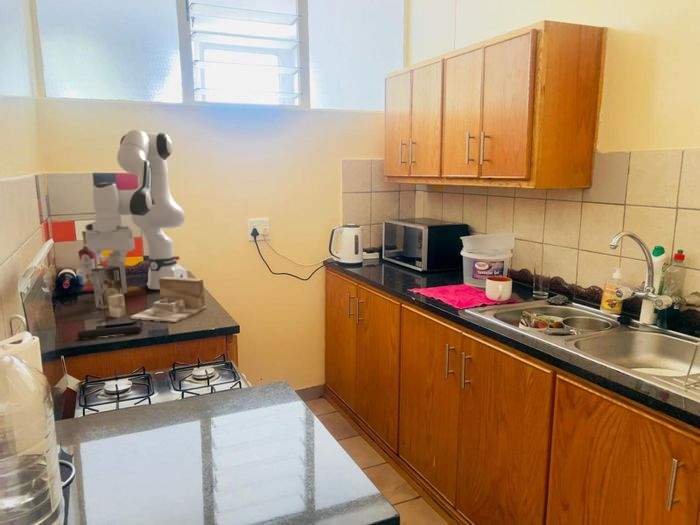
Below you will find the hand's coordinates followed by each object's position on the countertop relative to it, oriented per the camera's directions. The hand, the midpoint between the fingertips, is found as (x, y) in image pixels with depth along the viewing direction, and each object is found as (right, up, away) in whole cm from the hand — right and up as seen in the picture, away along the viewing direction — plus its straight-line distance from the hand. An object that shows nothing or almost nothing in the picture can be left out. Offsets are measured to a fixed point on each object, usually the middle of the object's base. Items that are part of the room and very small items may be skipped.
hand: (112, 261), depth 202 cm
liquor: (-29, -14, +44) cm, 55 cm away
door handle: (+6, -25, -14) cm, 30 cm away
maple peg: (0, -21, +4) cm, 21 cm away
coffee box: (-9, -18, +19) cm, 28 cm away
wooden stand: (+20, -20, +6) cm, 29 cm away
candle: (-16, -15, +37) cm, 43 cm away
